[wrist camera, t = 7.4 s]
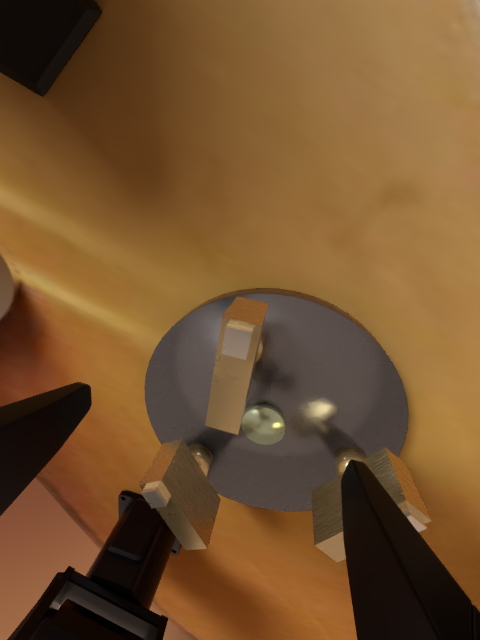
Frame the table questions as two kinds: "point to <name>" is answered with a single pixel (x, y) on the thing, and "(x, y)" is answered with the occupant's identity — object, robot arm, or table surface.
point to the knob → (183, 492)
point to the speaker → (41, 38)
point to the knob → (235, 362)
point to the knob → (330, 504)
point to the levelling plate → (279, 397)
